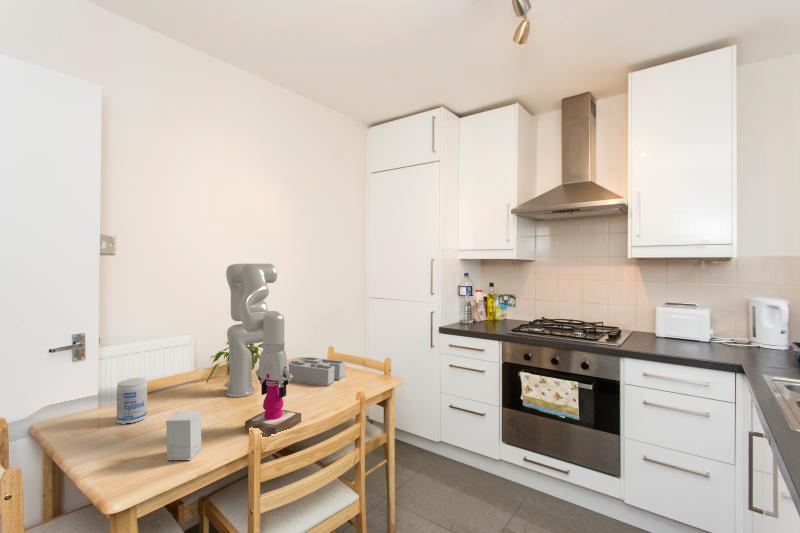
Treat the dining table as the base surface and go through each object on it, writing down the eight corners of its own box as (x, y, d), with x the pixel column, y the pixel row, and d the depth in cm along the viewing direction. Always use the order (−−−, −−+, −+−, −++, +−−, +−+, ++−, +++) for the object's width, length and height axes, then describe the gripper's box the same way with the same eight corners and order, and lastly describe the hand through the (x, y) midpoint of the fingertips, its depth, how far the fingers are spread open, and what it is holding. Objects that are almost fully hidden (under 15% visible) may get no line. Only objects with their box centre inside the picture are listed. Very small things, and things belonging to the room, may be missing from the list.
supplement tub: (124, 427, 140) (124, 387, 140) (111, 421, 145) (111, 383, 145) (152, 417, 149) (152, 380, 149) (139, 413, 154) (139, 376, 153)
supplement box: (202, 449, 125) (202, 410, 124) (190, 461, 117) (190, 420, 117) (178, 449, 124) (178, 410, 124) (165, 461, 117) (165, 420, 117)
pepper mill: (277, 421, 138) (277, 365, 138) (259, 419, 140) (259, 364, 139) (287, 413, 145) (287, 360, 145) (269, 411, 147) (269, 359, 146)
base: (244, 430, 139) (244, 420, 138) (271, 415, 151) (271, 407, 151) (276, 437, 133) (276, 427, 133) (301, 421, 146) (301, 412, 146)
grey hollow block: (328, 387, 186) (328, 369, 186) (281, 380, 197) (281, 363, 197) (345, 377, 201) (345, 361, 201) (301, 371, 212) (301, 356, 212)
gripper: (247, 347, 142) (248, 395, 142) (286, 352, 135) (286, 402, 135) (262, 343, 149) (262, 389, 149) (299, 347, 142) (299, 395, 142)
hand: (273, 395), depth 142 cm, fingers open, 7 cm apart
